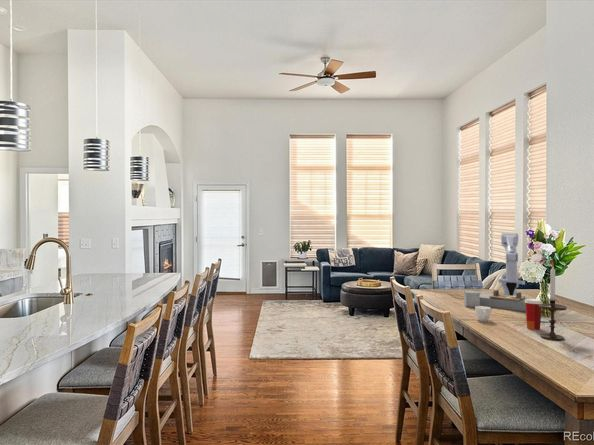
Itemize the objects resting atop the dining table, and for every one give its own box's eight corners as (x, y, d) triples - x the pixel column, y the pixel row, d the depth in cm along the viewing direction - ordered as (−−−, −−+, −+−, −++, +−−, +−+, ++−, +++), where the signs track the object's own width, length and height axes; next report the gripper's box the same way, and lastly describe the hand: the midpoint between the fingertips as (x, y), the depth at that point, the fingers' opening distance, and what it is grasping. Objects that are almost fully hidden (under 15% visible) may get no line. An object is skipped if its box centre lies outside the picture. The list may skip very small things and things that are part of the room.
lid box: (484, 301, 291) (484, 293, 291) (539, 308, 270) (539, 299, 270) (475, 304, 279) (475, 296, 279) (532, 312, 258) (532, 303, 258)
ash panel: (511, 296, 280) (511, 290, 280) (525, 297, 275) (525, 291, 275) (503, 299, 269) (503, 293, 269) (517, 301, 264) (517, 294, 264)
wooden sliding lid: (497, 294, 286) (497, 288, 286) (510, 296, 280) (510, 290, 280) (489, 297, 274) (489, 291, 274) (502, 299, 269) (502, 293, 269)
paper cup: (540, 327, 222) (541, 299, 222) (543, 331, 214) (544, 301, 214) (523, 326, 224) (523, 298, 224) (525, 329, 217) (525, 300, 217)
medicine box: (477, 305, 277) (477, 291, 277) (479, 307, 272) (479, 292, 272) (464, 305, 277) (464, 291, 277) (466, 307, 273) (466, 292, 273)
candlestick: (533, 334, 208) (534, 258, 208) (558, 335, 208) (558, 258, 207) (546, 341, 197) (546, 260, 197) (571, 341, 197) (572, 260, 196)
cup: (489, 319, 240) (489, 306, 240) (493, 323, 230) (493, 310, 230) (474, 318, 242) (474, 305, 242) (476, 322, 232) (476, 309, 232)
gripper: (496, 272, 275) (496, 294, 275) (522, 274, 265) (522, 297, 265) (500, 271, 280) (500, 293, 280) (526, 273, 270) (525, 296, 271)
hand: (511, 295), depth 273 cm, fingers closed
